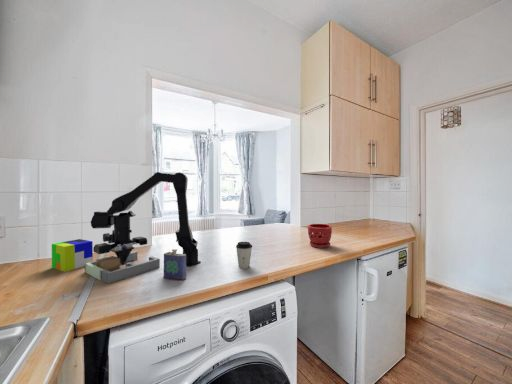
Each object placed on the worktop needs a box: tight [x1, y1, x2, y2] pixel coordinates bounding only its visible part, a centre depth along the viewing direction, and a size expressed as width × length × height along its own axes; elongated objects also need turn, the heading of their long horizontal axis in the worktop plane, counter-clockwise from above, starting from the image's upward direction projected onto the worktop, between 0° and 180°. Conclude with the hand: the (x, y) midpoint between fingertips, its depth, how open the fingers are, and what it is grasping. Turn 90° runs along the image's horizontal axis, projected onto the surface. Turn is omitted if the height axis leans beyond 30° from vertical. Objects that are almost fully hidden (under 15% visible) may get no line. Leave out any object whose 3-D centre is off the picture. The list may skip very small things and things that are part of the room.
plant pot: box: [307, 223, 333, 249], centre depth 127 cm, size 13×13×12 cm
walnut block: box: [95, 255, 121, 272], centre depth 87 cm, size 6×6×5 cm
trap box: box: [84, 251, 161, 284], centre depth 90 cm, size 19×20×4 cm
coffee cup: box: [235, 241, 253, 269], centre depth 93 cm, size 7×7×10 cm
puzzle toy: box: [51, 238, 94, 273], centre depth 94 cm, size 10×10×10 cm
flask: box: [163, 248, 187, 281], centre depth 81 cm, size 9×3×11 cm, turn 74°
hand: (122, 265), depth 91 cm, fingers closed
